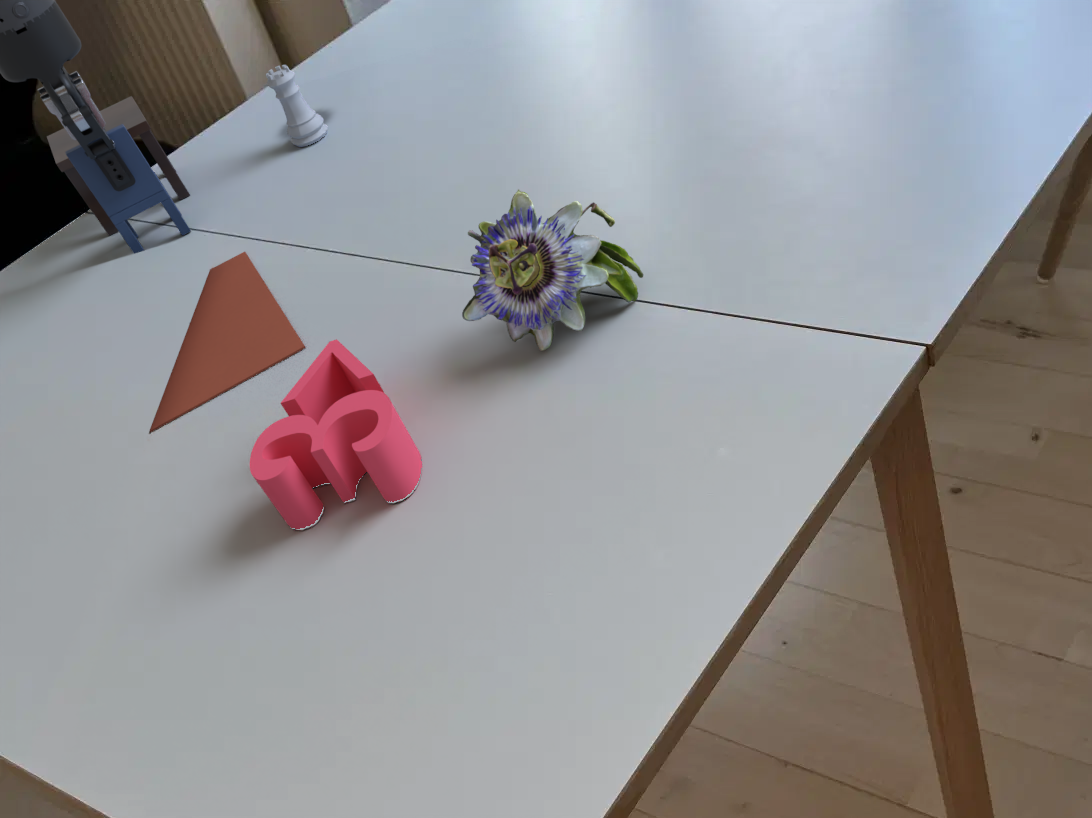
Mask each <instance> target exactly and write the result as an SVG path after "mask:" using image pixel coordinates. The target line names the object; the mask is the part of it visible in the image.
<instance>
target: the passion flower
mask: <svg viewBox="0 0 1092 818" xmlns="http://www.w3.org/2000/svg"><path fill="white" fill-rule="evenodd" d="M589 209H590V212H591V213H593V214H595V215H597V216H599V217H601V218H602V219H603V220H604V221H605V222H606V224H607V226H608V227H609V228H612V227H614V225H615V224H616V220H615V219H614V217H612V216H611V214H610V215H609V214H608V213H607V211H605V210H604V209H602V208H600V206H598V203H596V202H591V203H590V204H589V205H588V206H586V207H585V208H584V209H583V205H582V203H580V202H579V201H578V200H574V201H572V202H571V203H569V204H566V205H565V206H563V207H561V208H560V209H558V210H557V211H556V213H555V214H553V215H551V216H550V217H547V218H546V220H545V222H542V218H543V216H542V215H540V217H538V216H537V213H536V209H535V206H534V203H533V201H532V199H530V196H529V194H528V193H527V192H525V191H522V190H520V189H519V188H518V189H517V190H516V192H515V193H514V194H513V195H512V199H511V201H510V206H509V210H508V212H507V213H503V215H502V216H501V219H499V220H498V218H497V219H496V220H495V223H494V222H491V221H482V222H481V221H480V223H478V229H479V231H480V233H481V234H479V233H477V232H475V231H474V230H470V229H469V230H468V231H467V235H468V237H471V238H473V239H474V240H476V241H477V242H479V244H480V245H478V244H476V245H474V248H475V250H477V252H476V253H474V254H472V255H471V256H470V263H471V266H472V267H475V268H476V269H479V277H478V279H477V281H476V282H475V283H473V285H472V289H473V292H474V295H473V296H472V297H471V299H470V300H468V302H467V304H466V305H465V307H464V308H463V309H462V314H461V316H462V319H463V320H465V321H467V322H474V321H479V320H482V318H485V317H487V315H491V316H493V317H495V318H496V319H497V320H499V321H502V322H504V323H505V324H506V329H507V333H508V335H509V337H510V340H511V341H512V342H514V343H516V342H517V341H518V340H521V339H522V338H524V336H526V335H528V334H530V335H532V336H533V337H534V341H535V344H536V346H537V347H538V349H539V351H541V352H544V351H546V350H547V349H549V348H550V347H551V345H552V342H553V340H554V335H555V334H554V330H555V329H554V327H555V326H554V323H556V322H558V321H559V322H561V323H562V324H563V325H564V326H565V327H567V328H568V329H569V330H574V331H576V332H582V331H583V329H584V327H585V325H586V324H585V323H586V319H587V317H586V310H585V309H584V306H583V304H582V301H581V293H582V290H586V289H592V288H596V287H601V286H603V285H606V286H607V287H609V288H610V289H611V290H612V291H614V292H615V293H616V294H617V295H618V296H619V297H621V298H622V299H623V300H625V302H627V303H631V302H636V301H637V300H638V297H639V292H638V286H637V284H636V283H635V281H634V279H633V276H632V274H631V273H629V271H628V270H627V269H626V267H627V268H628V269H630V270H631V271H633V272H634V273H636V275H637V276H638V278H640V279H643V278H644V272H643V271H642V270H641V268H640V266H639V265H638V264H637V263H636V262H635V261H634V258H633V257H632V256H630V255H629V253H628V252H627V250H626V249H625V248H623V247H621V246H619V245H618V244H616V243H612V242H609V241H606V240H603V239H602V240H601V239H600V237H598V236H596V235H594V234H588V235H586V234H583V235H582V234H581V235H580V234H579V235H578V234H576V233H575V232H574V230H575V228H576V227H577V225H578V224H579V222H580V219H581V217H582V216H583V215H584V214H585V213H586V211H588V210H589Z"/></svg>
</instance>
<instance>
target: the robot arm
mask: <svg viewBox="0 0 1092 818" xmlns="http://www.w3.org/2000/svg"><path fill="white" fill-rule="evenodd" d="M81 49H82V42H81V39H80V37H79V36H78V35H77V33H76V31H75V29H74V28H73V26H72V25H71V23H70V21H69V20H68V19H67V16H66V14H64V12H63V11H62V9H61V7H60V5H59V4H58V3H57V0H0V75H1V77H3V79H4V80H6V81H8V82H10V83H22V82H27V81H28V80H30V79H37V80H38V81H39V82H40V83H41V85H42V86H41V87H39V88H38V89H37V90H36V91H38V94H39V95H40V97H39V98H40V99H41V101H42V102H43V104H44V105H45V107H46V108H47V110H48V112H49V113H51V114H52V115H54V116H56V118H57V120H58V121H59V122H60V124H61V125H62V127H63V129H64V128H65V130H66V131H67V133H68V134H69V135H70V137H71V138H72V139H73V140H77V141H78V142H79V144H80V145H81V146H82V148H83V149H84V151H85V154H86V155H87V157H90V159H91V160H95V162H96V163H97V165H98V166H99V167H100V169H101V170H102V172H103V173H104V175H105V176H106V178H107V179H108V181H109V182H110V184H111V185H112V187H113V188H114V190H116V191H122V190H124V189H126V188H128V187H130V186H132V185H134V184H135V178H134V176H133V175H132V173H131V172H130V170H129V169H128V167H127V166H126V164H125V163H124V161H123V159H122V158H121V156H120V155H119V153H118V152H117V150H116V147H115V146H114V145H116V144H115V143H114V141H113V140H112V139H110V138H109V136H108V135H107V133H106V132H107V131H106V129H105V121H104V119H103V117H102V115H101V113H100V111H101V110H100V109H99V108H98V106H97V105H96V104H95V101H94V100H93V99H92V97H91V93H90V91H89V89H88V87H87V85H86V83H85V81H84V79H83V78H82V76H81V75H80V73H79V72H78V71H77V70H75V71H73V72H71V73H69V72H68V70H66V68H65V66H64V64H65V63H66V62H69V61H72V60H73V59H74V58H75V57H76V56H78V54H79V53H80V51H81ZM99 138H102V139H100V140H98V141H96V142H94V143H92V144H90V145H89V143H91V142H93V141H95V140H97V139H99Z"/></svg>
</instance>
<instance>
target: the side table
mask: <svg viewBox="0 0 1092 818" xmlns="http://www.w3.org/2000/svg"><path fill="white" fill-rule="evenodd" d="M99 111H100V113H101V115H102V117H103V119H104V121H105V129H106V131H109V130H111V129H113V128H115V127H117V126H119V125H121V124H123V125H124V126H125V128H126V129H127V131H128V132H129V134H130V136H131V137H132V139H134V138H136V137H138V136H139V137H140V139H141V140H142V142H143V144H144V145H145V147H146V148H147V150H148V152H149V154H150V155H151V156H152V158H153V159H154V161H155V162H156V164H157V166H158V167H159V169H160V170H161V172H162V174H163V175H164V177H165V179H166V180H167V181H168V183H169V185H170V187H171V188H172V189H173V191H174V193H175V194H176V195H177V197H178V199H179V200H180V201H181V200H184V199H185V198H187V197H190V196H191V194H190V192H189V191H188V189H187V188H186V185H185V184H184V183H183V180H182V179H181V177H180V176H179V174H178V173H177V170H176V168H175V166H174V165H173V164H172V162H171V160H170V158H169V157H168V155H167V154H166V152H165V151H164V149H163V148H162V146H161V144H160V143H159V141H158V139H157V138H156V137H155V135H154V133H153V132H152V127H151V126H150V124H149V123H148V121H147V119H146V117H145V115H144V114H143V112H142V110H141V109H140V107H139V105H138V104H137V102H136V100H135V99H134V97H133V96H132V95H131V96H128V97H126V98H124V99H121V100H120V101H118V102H116V103H114V104H112V105H110V106H107V107H105V108H103V109H101V110H99ZM46 138H47V141H48V145H49V147H50V150H51V154H52V156H53V158H54V161H55V164H56V166H57V167H58V169H59V170H60V172H61V173H64V174H65V175H66V177H67V178H68V180H69V181H70V182H71V184H72V185H73V187H74V188H75V189H76V191H77V192H78V194H79V195H80V197H81V198H82V200H83V201H84V203H85V204H86V206H88V208H89V210H90V211H91V213H92V214H93V215H94V217H95V218H96V219H97V221H98V222H99V224H100V225H101V227H102V228H103V229H104V231H105V233H106V234H107V235H108V236H109V237H111V236H112V235H114V234H116V233H118V232H119V231H118V230H117V228H116V227H115V225H114V224H113V222H112V221H111V219H110V218H109V216H108V215H107V213H106V212H105V211H104V209H103V208H102V206H101V205H100V203H99V202H98V200H97V199H96V198H95V196H94V195H93V193H92V192H91V190H90V189H89V187H88V186H87V184H86V183H85V182H84V180H83V179H82V177H81V176H80V174H79V173H78V171H77V170H76V168H75V167H74V166H73V164H72V163H71V161H70V160H69V158H68V157H67V155H66V153H65V152H66V151H68V150H70V149H72V148H74V147H76V146H78V145H80V144H79V142H78V141H77V140H73V139H72V138H71V137H70V135H69V134H68V133H67V131H66V130H65V128H64V127H63V128H61V129H59V130H57V131H55V132H53V133H50V134H49V135H46Z"/></svg>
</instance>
